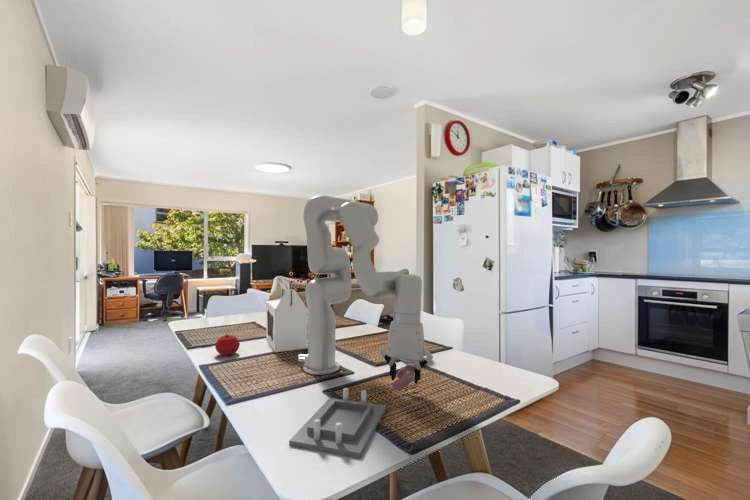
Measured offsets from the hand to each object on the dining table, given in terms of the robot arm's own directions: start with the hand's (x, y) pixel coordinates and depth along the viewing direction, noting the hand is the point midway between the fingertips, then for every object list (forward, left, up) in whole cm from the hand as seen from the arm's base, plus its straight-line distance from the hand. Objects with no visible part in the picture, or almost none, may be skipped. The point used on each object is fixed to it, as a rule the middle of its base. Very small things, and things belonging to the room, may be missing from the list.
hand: (404, 379), depth 100 cm
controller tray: (-11, -20, -5) cm, 24 cm away
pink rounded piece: (0, 0, -2) cm, 2 cm away
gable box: (-60, +38, -5) cm, 71 cm away
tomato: (-74, +18, -5) cm, 76 cm away
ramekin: (-4, +34, -5) cm, 34 cm away
